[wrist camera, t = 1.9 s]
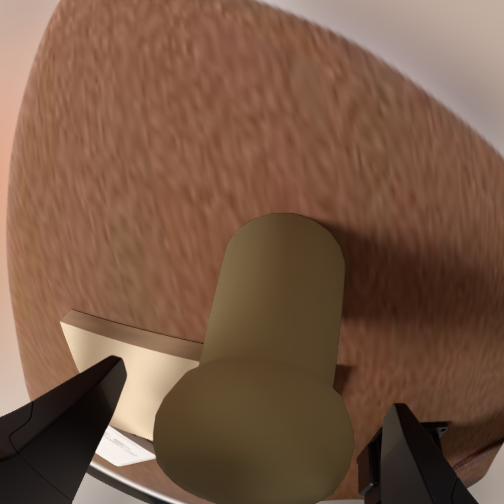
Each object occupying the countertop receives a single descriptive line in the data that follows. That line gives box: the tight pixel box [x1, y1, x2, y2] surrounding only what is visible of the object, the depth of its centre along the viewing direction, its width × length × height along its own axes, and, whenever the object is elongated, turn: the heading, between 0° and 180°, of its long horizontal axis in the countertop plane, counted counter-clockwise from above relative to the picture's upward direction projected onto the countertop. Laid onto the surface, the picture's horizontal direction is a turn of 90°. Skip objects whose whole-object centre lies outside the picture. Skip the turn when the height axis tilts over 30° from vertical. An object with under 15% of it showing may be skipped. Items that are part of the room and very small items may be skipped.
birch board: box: [60, 309, 203, 441], centre depth 21 cm, size 18×13×2 cm
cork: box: [153, 213, 354, 504], centre depth 10 cm, size 6×6×11 cm
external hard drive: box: [95, 425, 156, 466], centre depth 29 cm, size 2×8×12 cm
